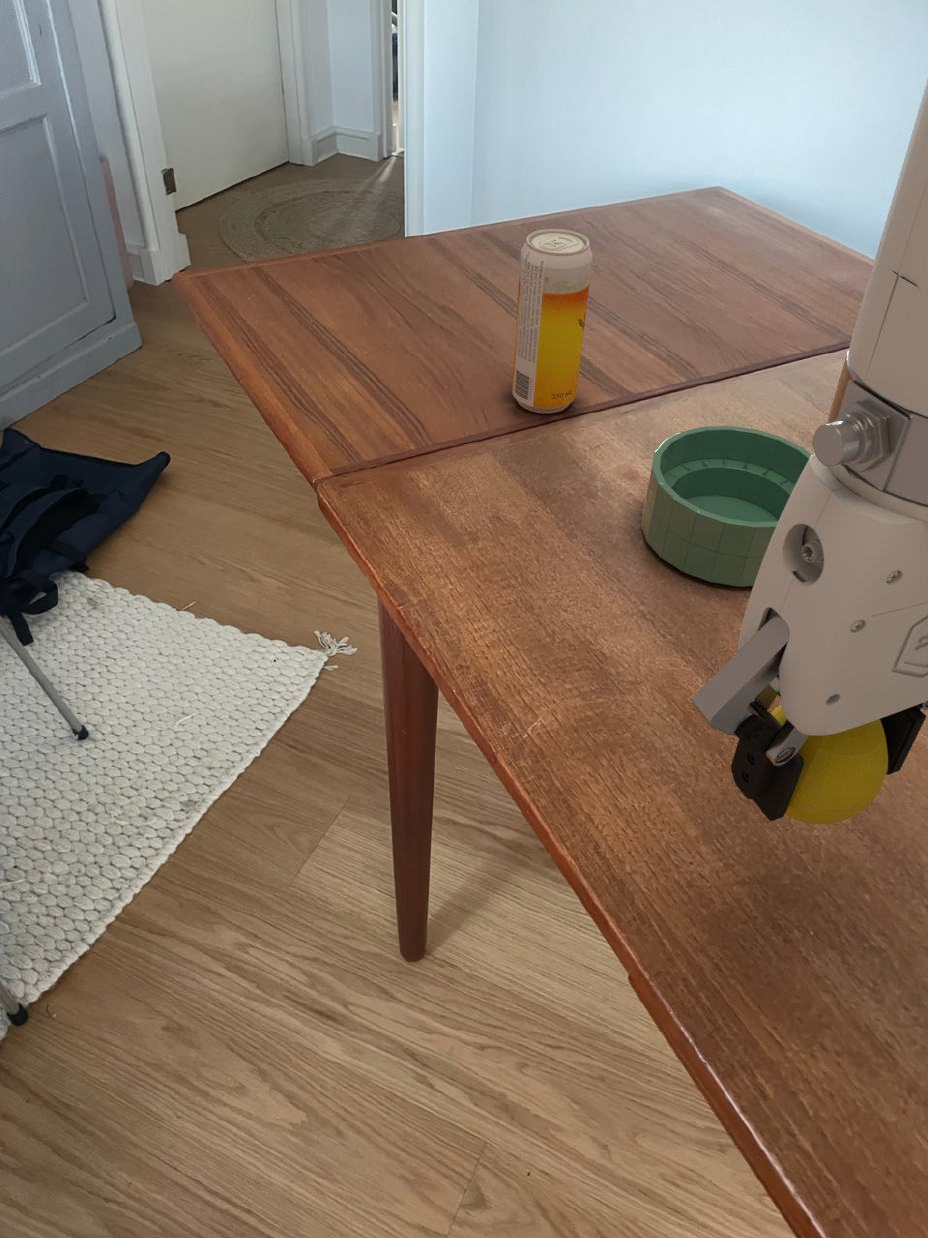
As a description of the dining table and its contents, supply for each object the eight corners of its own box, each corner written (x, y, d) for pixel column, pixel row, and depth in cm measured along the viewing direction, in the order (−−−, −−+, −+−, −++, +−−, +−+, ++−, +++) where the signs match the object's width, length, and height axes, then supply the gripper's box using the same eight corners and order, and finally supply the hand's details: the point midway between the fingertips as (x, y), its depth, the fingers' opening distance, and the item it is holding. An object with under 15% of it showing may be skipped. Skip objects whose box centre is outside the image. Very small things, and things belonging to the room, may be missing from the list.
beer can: (588, 399, 89) (608, 240, 78) (547, 423, 85) (563, 260, 75) (539, 377, 92) (552, 221, 81) (498, 399, 88) (506, 239, 78)
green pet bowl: (846, 566, 71) (871, 502, 67) (700, 609, 67) (718, 544, 63) (744, 474, 80) (761, 413, 76) (610, 507, 76) (620, 444, 72)
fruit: (865, 869, 42) (924, 755, 37) (739, 848, 43) (779, 734, 38) (853, 772, 46) (904, 657, 41) (738, 755, 47) (773, 640, 42)
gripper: (811, 555, 25) (700, 907, 38) (1240, 425, 30) (1019, 774, 43) (663, 424, 31) (608, 771, 43) (1051, 331, 35) (902, 666, 48)
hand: (814, 770), depth 43 cm, fingers closed on fruit, 5 cm apart
